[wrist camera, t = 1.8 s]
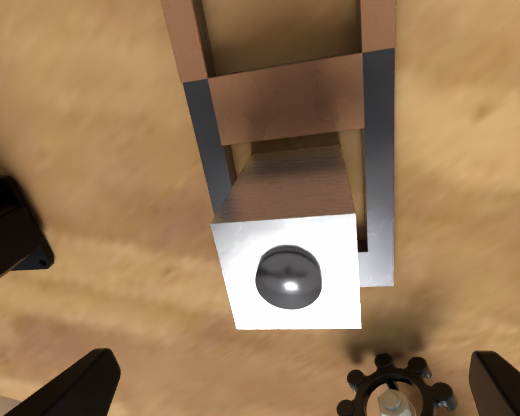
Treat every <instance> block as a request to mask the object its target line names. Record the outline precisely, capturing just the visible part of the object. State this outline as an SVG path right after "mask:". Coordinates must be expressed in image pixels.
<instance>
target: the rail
mask: <svg viewBox="0 0 520 416" xmlns="http://www.w3.org/2000/svg"><path fill="white" fill-rule="evenodd" d="M161 3H162V7H163V11H164V16H165V20H166V24H167V28H168V32H169V36H170V40H171V44H172V48H173V52H174V56H175V61H176V65H177V69H178V73H179V77H180V81H181V83H183V86H184V90H185V95H186V99H187V103H188V107H189V111H190V115H191V119H192V123H193V128H194V132H195V136H196V140H197V144H198V148H199V152H200V157H201V161H202V165H203V169H204V173H205V177H206V181H207V185H208V190H209V194H210V198H211V202H212V206H213V210H214V214H215V215H216V214H217V212H218V210H219V209H220V207H221V205H222V203H223V202H224V200H225V198H226V197H227V195H228V193H229V192H230V190H231V188H232V186H233V185H234V183H235V181H236V180H237V177H236V172H235V167H234V162H233V157H232V152H231V147H230V144H238V143H247V142H255V141H263V140H271V139H279V138H288V137H296V136H304V135H312V134H320V133H329V132H337V131H345V130H353V129H361V134H362V163H363V191H364V219H365V240H357V254H358V275H359V287H377V286H393V270H394V79H395V47H396V0H357V21H358V50H359V52H355V53H349V54H343V55H337V56H331V57H325V58H319V59H313V60H307V61H301V62H295V63H289V64H283V65H277V66H271V67H265V68H259V69H253V70H247V71H241V72H235V73H229V74H223V75H217V76H216V72H215V67H214V62H213V58H212V53H211V48H210V43H209V38H208V33H207V28H206V23H205V18H204V13H203V8H202V3H201V0H161Z"/></svg>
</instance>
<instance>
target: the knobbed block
mask: <svg viewBox="0 0 520 416" xmlns="http://www.w3.org/2000/svg"><path fill="white" fill-rule="evenodd" d="M211 228H212V232H213V236H214V240H215V244H216V248H217V252H218V256H219V260H220V264H221V268H222V272H223V276H224V280H225V284H226V288H227V292H228V296H229V300H230V304H231V308H232V312H233V316H234V320H235V324H236V328H237V329H343V328H361V317H360V296H359V275H358V254H357V233H356V213H355V209H354V204H353V199H352V195H351V190H350V186H349V181H348V177H347V172H346V167H345V163H344V158H343V154H342V149H341V144H338V145H330V146H321V147H312V148H303V149H295V150H286V151H277V152H268V153H259V154H251V156H250V157H249V159H248V161H247V163H246V164H245V166H244V168H243V169H242V171H241V173H240V174H239V176H238V178H237V180H236V181H235V183H234V185H233V186H232V188H231V190H230V192H229V193H228V195H227V197H226V198H225V200H224V202H223V203H222V205H221V207H220V209H219V210H218V212H217V214H216V215H215V217H214V219H213V221H212V222H211Z"/></svg>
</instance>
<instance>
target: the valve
mask: <svg viewBox="0 0 520 416" xmlns="http://www.w3.org/2000/svg"><path fill="white" fill-rule="evenodd" d="M375 365H376V367H377V370H376V372H374V373H373V374H371V375H369V376H365V375H364V374H363V373H362V372H361V371H360V370H352V371H351V372H349V374H348V375H347V381H348V383H349V385H350V387H351V388H352V390H353V392H354V393H356V392H357V393H356V396H355V398H354V400H352V401H350V400H342V401H341V402H340V403H339V404H338V406H337V414H338V415H339V416H367V412H366V407H367V402H368V399H369V397H370V395H371V393H372V392H373V391H374V390H375V389H376V388H377V387H378V386H380V385H382V384H384V383H386V384H387V386H388V388H389V390H387V391H385V392H384V393H383V394H382V395H381V396H380V397H379V398H378V403H379V409H380V415H381V416H418V414H417V412H416V410H415V408H414V406H413V404H412V403H411V402H410V401H409V400H408V399H407V397H406V395H405V393H402V392H400V391H399V388H398V385H397V383H396V381H400V382H404V383H407V384H410V385H411V386H413V387H414V388H415V389H417V390H418V391H419V393H420V394H421V395H422V398H423V410H422V413H421V416H437V408H438V407H447V409H448V411H449V412H451V411H454V410H455V409H456V407H457V404H458V403H457V399H456V397H455V395H454V392H453V390H452V388H451V387H450V386H449V385H448V384H446V383H442V382H439V383H436V384H434V385H433V386H429V385H427V384H426V383H425V381H424V380H423V379H424V377H427V378H428V379H431V376H432V374H431V371H430V369H429V366H428V364H427V362H426V360H425V359H423V358H421V357H413V358H411V359H410V360H409V361H408V366H407V367H406V368H404V369H402V368H396V365H395V363H394V361H393V359H392V357H391V356H390V355H389V354H387V353H384V354H380V355H377V356H376V358H375Z"/></svg>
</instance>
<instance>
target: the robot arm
mask: <svg viewBox="0 0 520 416" xmlns="http://www.w3.org/2000/svg"><path fill="white" fill-rule="evenodd" d="M5 183H6V184H5ZM53 264H54V259H53V257H52V255H51V253H50V251H49V249H48V247H47V245H46V243H45V241H44V239H43V237H42V235H41V233H40V231H39V228H38V226H37V224H36V222H35V220H34V218H33V216H32V214H31V212H30V210H29V208H28V206H27V204H26V202H25V200H24V198H23V196H22V194H21V192H20V190H19V188H18V186H17V184H16V182H15V181H14V179H13V178H11V177H9V176H0V278H1V277H2V276H4V275H5V274H6V273H8V272H9V271H16V270H37V269H48V268H49V267H51V266H52V265H53ZM120 375H121V370H120V367H119V365H118V362H117V360H116V358H115V356H114V354H113V352H112V350H110V349H109V348H97V349H94V350H92V351H91V352H89V353H88V354H87V355H85V356H84V357H83V358H81V359H80V360H79V361H77V362H76V363H74V364H73V365H72V366H70V367H69V368H68V369H66V370H65V371H64V372H62V373H61V374H59V375H58V376H57V377H55V378H54V379H53V380H51V381H50V382H49V383H47V384H46V385H45V386H43V387H42V388H40V389H39V390H38V391H36V392H35V393H34V394H32V395H31V396H30V397H28V398H27V399H26V400H24V401H23V402H21V403H20V404H19V405H17V406H16V407H15V408H13V409H12V410H11V411H9V412H8V413H7V414H5V415H4V416H107V414H108V411H109V408H110V405H111V402H112V399H113V397H114V394H115V391H116V388H117V385H118V382H119V379H120ZM469 384H470V388H471V391H472V394H473V397H474V400H475V404H476V407H477V410H478V413H479V416H520V372H519V371H518V370H517V369H516V368H514V367H513V366H512V365H511V364H510V363H508V362H507V361H506V360H505V359H504V358H502V357H501V356H500V355H499V354H497V353H496V352H494V351H474V352H473V353H472V356H471V363H470V370H469Z"/></svg>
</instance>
